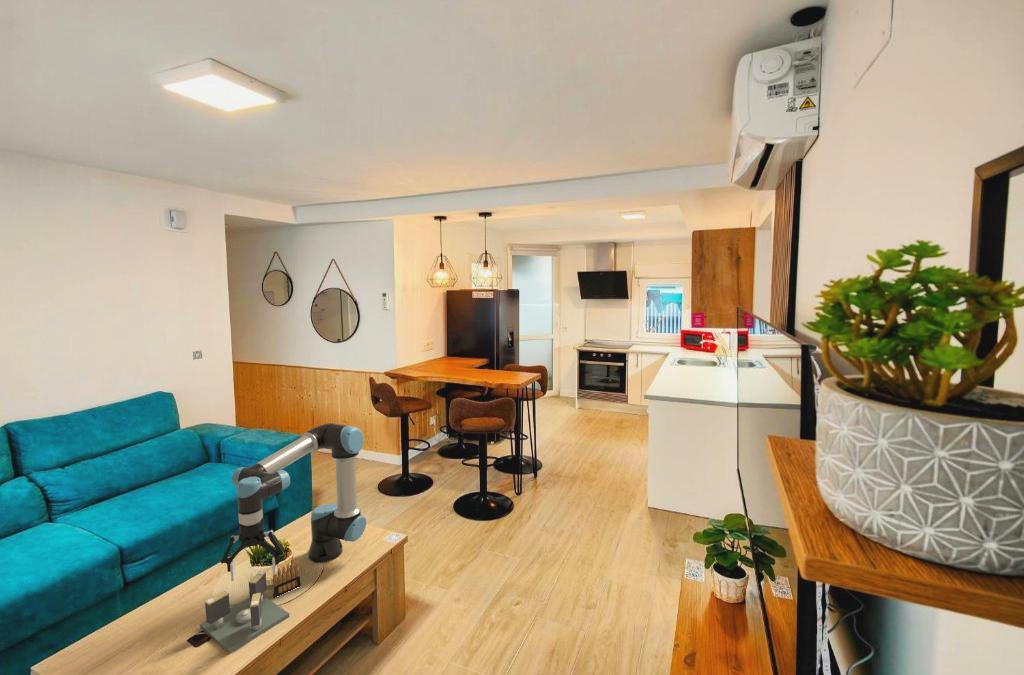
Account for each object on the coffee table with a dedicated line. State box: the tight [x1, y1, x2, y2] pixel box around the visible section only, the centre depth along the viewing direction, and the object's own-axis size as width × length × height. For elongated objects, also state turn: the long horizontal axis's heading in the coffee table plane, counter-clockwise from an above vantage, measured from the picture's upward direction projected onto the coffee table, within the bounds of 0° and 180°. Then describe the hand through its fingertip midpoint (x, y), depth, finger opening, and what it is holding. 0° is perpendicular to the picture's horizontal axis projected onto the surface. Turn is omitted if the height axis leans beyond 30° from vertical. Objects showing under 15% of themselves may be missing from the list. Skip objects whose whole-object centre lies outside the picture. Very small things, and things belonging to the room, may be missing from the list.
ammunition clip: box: [272, 560, 302, 599], centre depth 193 cm, size 11×2×12 cm, turn 134°
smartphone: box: [186, 629, 213, 648], centre depth 171 cm, size 7×1×15 cm
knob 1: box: [204, 590, 231, 629], centre depth 171 cm, size 7×3×12 cm, turn 150°
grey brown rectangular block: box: [248, 570, 268, 605], centre depth 183 cm, size 7×3×12 cm, turn 177°
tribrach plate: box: [199, 594, 290, 655], centre depth 176 cm, size 22×22×4 cm
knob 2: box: [250, 593, 262, 631], centre depth 170 cm, size 7×3×12 cm, turn 22°
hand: (254, 575), depth 169 cm, fingers open, 13 cm apart
